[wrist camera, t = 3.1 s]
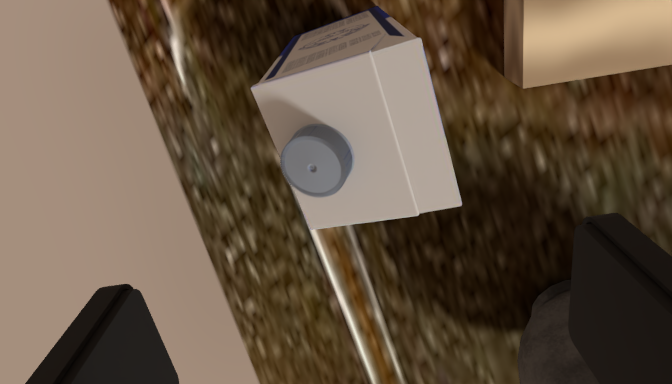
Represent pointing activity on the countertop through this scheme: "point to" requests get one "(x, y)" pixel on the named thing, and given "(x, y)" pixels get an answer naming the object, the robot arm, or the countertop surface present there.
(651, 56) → the oak block
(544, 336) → the pitcher
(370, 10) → the milk carton
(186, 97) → the countertop surface
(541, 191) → the countertop surface
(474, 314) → the countertop surface
